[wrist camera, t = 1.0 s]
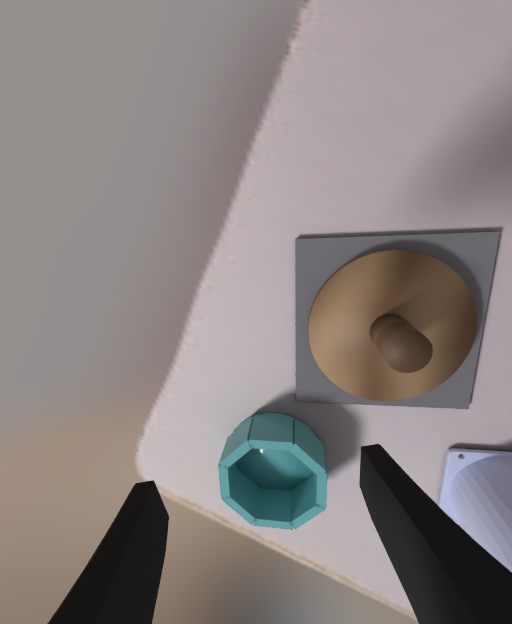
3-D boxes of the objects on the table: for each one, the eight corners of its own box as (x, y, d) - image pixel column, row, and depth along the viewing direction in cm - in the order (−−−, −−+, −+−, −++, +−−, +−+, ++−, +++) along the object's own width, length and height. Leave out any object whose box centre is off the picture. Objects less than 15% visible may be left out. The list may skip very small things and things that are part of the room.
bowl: (323, 413, 26) (328, 444, 22) (321, 492, 29) (325, 533, 25) (227, 409, 28) (215, 437, 24) (232, 485, 30) (223, 522, 26)
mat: (496, 231, 20) (500, 231, 20) (465, 406, 24) (468, 408, 24) (295, 238, 22) (295, 239, 22) (296, 399, 26) (295, 401, 26)
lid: (481, 246, 20) (537, 252, 16) (456, 397, 24) (497, 439, 19) (308, 252, 22) (312, 258, 17) (307, 392, 25) (310, 429, 21)
